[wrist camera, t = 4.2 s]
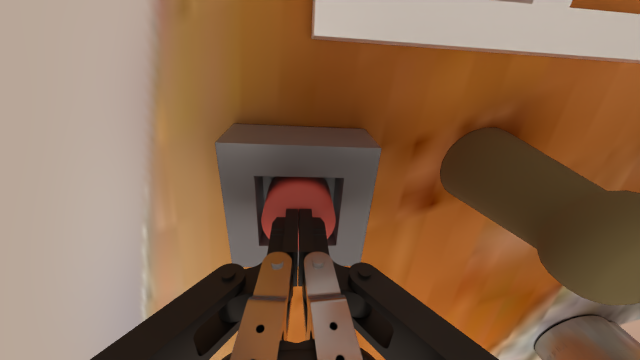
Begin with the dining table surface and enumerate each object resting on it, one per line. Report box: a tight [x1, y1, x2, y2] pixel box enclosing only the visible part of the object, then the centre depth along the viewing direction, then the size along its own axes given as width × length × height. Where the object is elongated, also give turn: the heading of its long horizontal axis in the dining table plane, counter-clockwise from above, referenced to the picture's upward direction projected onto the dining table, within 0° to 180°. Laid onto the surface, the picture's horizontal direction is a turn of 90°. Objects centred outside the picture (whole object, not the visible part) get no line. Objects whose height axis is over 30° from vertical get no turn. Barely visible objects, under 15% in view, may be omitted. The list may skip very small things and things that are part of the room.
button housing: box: [215, 124, 381, 267], centre depth 17 cm, size 9×9×4 cm
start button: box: [261, 176, 336, 250], centre depth 16 cm, size 4×4×3 cm
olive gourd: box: [440, 128, 640, 305], centre depth 14 cm, size 6×6×11 cm
